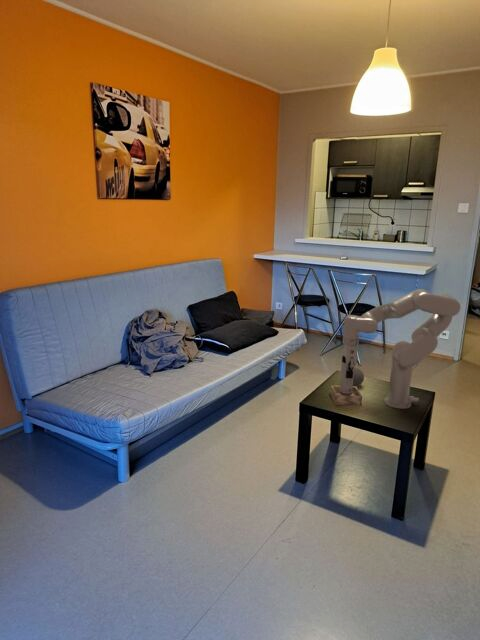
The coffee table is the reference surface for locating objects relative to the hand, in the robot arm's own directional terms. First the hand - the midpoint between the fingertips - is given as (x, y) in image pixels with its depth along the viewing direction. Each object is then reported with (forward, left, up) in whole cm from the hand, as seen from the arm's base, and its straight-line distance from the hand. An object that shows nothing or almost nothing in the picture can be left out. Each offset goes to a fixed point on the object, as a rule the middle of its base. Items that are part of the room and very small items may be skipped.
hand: (347, 375), depth 221 cm
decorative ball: (-8, -18, -13) cm, 24 cm away
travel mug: (0, 0, -10) cm, 10 cm away
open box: (0, 0, -13) cm, 13 cm away
